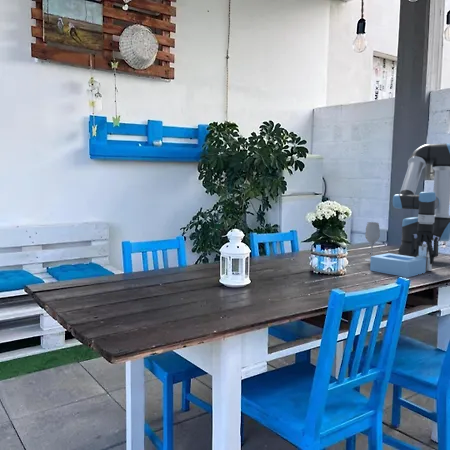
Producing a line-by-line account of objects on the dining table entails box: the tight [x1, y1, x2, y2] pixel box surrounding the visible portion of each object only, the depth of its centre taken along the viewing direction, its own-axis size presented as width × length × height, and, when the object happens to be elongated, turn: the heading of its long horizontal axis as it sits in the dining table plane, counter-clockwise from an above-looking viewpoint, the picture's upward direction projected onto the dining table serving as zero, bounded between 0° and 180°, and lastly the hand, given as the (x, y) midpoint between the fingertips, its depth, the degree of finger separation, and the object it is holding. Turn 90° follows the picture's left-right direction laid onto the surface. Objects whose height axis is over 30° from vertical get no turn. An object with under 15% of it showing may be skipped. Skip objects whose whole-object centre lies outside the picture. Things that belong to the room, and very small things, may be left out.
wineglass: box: [364, 221, 381, 263], centre depth 258 cm, size 8×8×21 cm
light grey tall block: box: [418, 243, 430, 272], centre depth 233 cm, size 4×4×13 cm
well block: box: [369, 252, 426, 278], centre depth 229 cm, size 16×20×7 cm
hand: (423, 269), depth 234 cm, fingers open, 5 cm apart
